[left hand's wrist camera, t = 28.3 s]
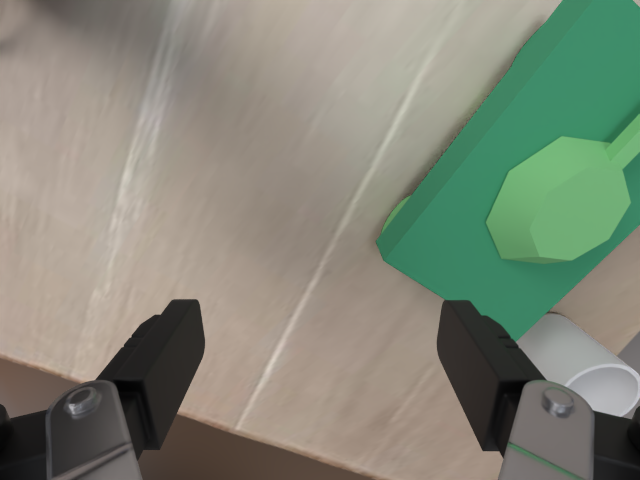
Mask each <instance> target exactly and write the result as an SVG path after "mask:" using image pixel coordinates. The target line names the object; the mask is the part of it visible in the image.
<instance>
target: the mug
mask: <svg viewBox="0 0 640 480" xmlns="http://www.w3.org/2000/svg"><path fill="white" fill-rule="evenodd" d="M516 343H517V344H518V346H519V348H521V349H522V351H523V352H524V353H525V354H526V355H527V357H528V358H529V359H530V360H531V361H532V363H533V364H534V365H535V366H536V368H537V369H538V370H539V371H540V372H541V374H542V375H543V376H544V377H545V378H546V380H547V381H551V382H555V383H558V384H561V385H563V386H565V387H567V388H569V389H571V390H573V391H574V392H576V393H577V394H579V395H580V396H581V397H582V398H583V399H585V400H586V401H587V403H588V404H589V405H590V406H591V408H592V410H594V411H598V412H602V413H606V414H610V415H615V416H619V417H622V416H623V415H625V414H626V413H628V412H629V411H630V410H631V409H632V408H633V407H634V406H635V405H636V403H637V401H638V400H639V398H640V376H639V374H638V373H637V372H636V371H634V370H633V369H632V368H631V367H630V366H628V365H627V364H626V363H625V362H623V361H622V360H621V359H619V358H618V357H617V356H616V355H614V354H613V353H612V352H610V351H609V350H608V349H606V348H605V347H604V346H603V345H601V344H600V343H599V342H597V341H596V340H595V339H594V338H592V337H591V336H590V335H588V334H587V333H586V332H584V331H583V330H582V329H581V328H579V327H578V326H577V325H575V324H574V323H573V322H572V321H570V320H569V319H568V318H566V317H565V316H563V315H560V314H556V313H546V314H545V315H544V316H543V317H542V318H541V319H540V320H539V321H537V322H536V323H535V324H534V325H533V326H532V327H531V328H530V329H529V330H528V331H527V332H526V333H525V334H524V335H523V336H522V337H521V338H520V339H518V340H517V341H516Z"/></svg>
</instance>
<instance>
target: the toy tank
mask: <svg viewBox="0 0 640 480" xmlns="http://www.w3.org/2000/svg"><path fill="white" fill-rule="evenodd" d="M639 225H640V7H639V6H638V5H637V4H636V3H635V2H634V1H633V0H563V1H562V2H561V3H560V4H559V6H558V7H557V8H556V10H555V11H554V12H553V13H552V15H551V16H550V17H549V19H548V20H547V21H546V22H545V23H544V24H543V25H542V26H541V27H540V28H539V29H538V30H537V31H536V32H535V33H534V34H533V35H532V36H531V38H530V39H529V40H528V41H527V42H526V44H525V45H524V46H523V47H522V49H521V50H520V52H519V53H518V54H517V56H516V58H515V60H514V61H513V63H512V66H511V68H510V69H509V70H508V71H507V73H506V74H505V75H504V77H503V78H502V79H501V80H500V82H499V83H498V84H497V86H496V87H495V88H494V89H493V91H492V92H491V93H490V95H489V96H488V97H487V98H486V100H485V101H484V102H483V104H482V105H481V106H480V107H479V109H478V110H477V111H476V113H475V114H474V115H473V117H472V118H471V119H470V120H469V122H468V123H467V124H466V126H465V127H464V128H463V129H462V131H461V132H460V133H459V135H458V136H457V137H456V138H455V140H454V141H453V142H452V144H451V145H450V146H449V147H448V149H447V150H446V151H445V153H444V154H443V155H442V156H441V158H440V159H439V160H438V162H437V163H436V164H435V165H434V167H433V168H432V169H431V171H430V172H429V173H428V174H427V176H426V177H425V178H424V180H423V181H422V182H421V184H420V185H419V186H418V187H417V189H416V190H415V191H414V193H413V194H412V195H411V196H408V197H407V198H405V199H403V200H402V201H401V202H400V203H399V204H398V205H397V206H396V207H395V209H394V210H393V211H392V212H391V214H390V215H389V217H388V218H387V220H386V222H385V224H384V226H383V229H382V231H381V235H380V236H379V238H378V239H377V240H376V243H377V246H378V248H379V251H380V253H381V255H382V258H383V260H384V261H385V262H386V263H388V264H389V265H391V266H393V267H394V268H396V269H397V270H399V271H401V272H402V273H404V274H405V275H407V276H409V277H410V278H412V279H413V280H415V281H417V282H418V283H420V284H421V285H423V286H424V287H426V288H428V289H429V290H431V291H432V292H434V293H436V294H437V295H439V296H440V297H442V298H444V299H445V300H469V301H471V302H472V304H473V305H474V306H475V308H476V309H477V310H478V312H479V313H480V314H481V315H487V316H489V317H490V318H492V319H493V320H495V321H496V322H498V323H499V324H501V325H502V326H503V328H504V329H505V330H506V331H507V332H508V334H509V335H510V336H511V339H513V340H514V341H515V342H516V341H517V340H518V339H520V338H521V337H522V336H523V335H524V334H525V333H526V332H527V331H528V330H529V329H530V328H531V327H532V326H533V325H534V324H535V323H536V322H537V321H539V320H540V319H541V318H542V317H543V316H544V315H545V314H546V313H547V312H548V311H549V310H550V309H551V308H552V307H553V306H554V305H555V304H556V303H558V302H559V301H560V300H561V299H562V298H563V297H564V296H565V295H566V294H567V293H568V292H569V291H570V290H571V289H572V288H573V287H574V286H575V285H577V284H578V283H579V282H580V281H581V280H582V279H583V278H584V277H585V276H586V275H587V274H588V273H589V272H590V271H591V270H592V269H593V268H594V267H596V266H597V265H598V264H599V263H600V262H601V261H602V260H603V259H604V258H605V257H606V256H607V255H608V254H609V253H610V252H611V251H612V250H613V249H615V248H616V247H617V246H618V245H619V244H620V243H621V242H622V241H623V240H624V239H625V238H626V237H627V236H628V235H629V234H630V233H631V232H632V231H634V230H635V229H636V228H637V227H638V226H639Z"/></svg>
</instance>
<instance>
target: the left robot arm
mask: <svg viewBox="0 0 640 480" xmlns="http://www.w3.org/2000/svg"><path fill="white" fill-rule="evenodd" d="M204 349H205V337H204V330H203V323H202V317H201V310H200V304H199V302H198V300H196V299H174V300H172V301H171V302H170V303H169V304H168V306H167V307H166V308H165V310H164V311H163V312H162V314H161V315H154V316H152V317H151V318H149V319H148V320H146V321H145V322H143V323H142V324H141V325H140V326H139V327H138V328H137V330H136V331H135V332H134V333H133V334H132V337H131V338H129V339H128V341H127V342H126V343H125V344H124V347H122V348H121V349H120V350H119V352H118V353H117V354H116V355H115V356H114V358H113V359H112V360H111V361H110V363H109V364H108V365H107V366H106V367H105V369H104V370H103V371H102V372H101V374H100V375H99V376H98V377H97V378H96V380H94V381H89V382H85V383H82V384H79V385H77V386H75V387H73V388H71V389H69V390H67V391H66V392H64V393H63V394H61V395H60V396H59V397H58V398H57V399H55V400H54V402H53V403H52V404H51V405H50V406H49V408H48V410H44V411H40V412H36V413H31V414H27V415H23V416H19V417H14V418H9V415H8V413H7V411H6V409H5V407H4V406H3V405H1V404H0V480H142V477H141V473H140V470H139V466H138V462H137V461H138V459H139V457H140V455H141V453H142V451H143V450H160V448H161V446H162V444H163V442H164V440H165V437H166V435H167V433H168V431H169V429H170V427H171V425H172V422H173V420H174V418H175V416H176V414H177V412H178V410H179V407H180V405H181V403H182V401H183V399H184V397H185V394H186V392H187V390H188V388H189V386H190V384H191V382H192V379H193V377H194V375H195V373H196V371H197V369H198V366H199V364H200V362H201V360H202V358H203V354H204ZM437 351H438V356H439V359H440V361H441V363H442V365H443V368H444V370H445V372H446V374H447V376H448V378H449V380H450V382H451V385H452V387H453V389H454V391H455V393H456V395H457V397H458V399H459V402H460V404H461V406H462V408H463V410H464V412H465V414H466V416H467V419H468V421H469V423H470V425H471V427H472V429H473V431H474V433H475V436H476V438H477V440H478V442H479V444H480V446H481V448H482V450H483V451H500V453H501V455H502V457H503V462H502V466H501V470H500V473H499V477H498V480H640V406H639V407H638V408H637V409H636V411H635V413H634V415H633V418H632V419H627V418H623V417H619V416H615V415H610V414H606V413H602V412H598V411H594V410H592V408H591V406H590V405H589V404H588V403H587V401H586V400H585V399H583V398H582V397H581V396H580V395H579V394H577V393H576V392H574V391H573V390H571V389H569V388H567V387H565V386H563V385H561V384H558V383H555V382H551V381H547V380H546V378H545V377H544V376H543V375H542V374H541V372H540V371H539V370H538V369H537V368H536V366H535V365H534V364H533V363H532V361H531V360H530V359H529V358H528V357H527V355H526V354H525V353H524V352H523V351H522V349H521V348H519V346H518V344H517V343H516V342H515V341H514V340H513V339H511V336H510V335H509V334H508V332H507V331H506V330H505V329H504V328H503V326H502V325H501V324H499V323H498V322H496V321H495V320H493V319H492V318H490V317H489V316H487V315H481V314H480V313H479V312H478V310H477V309H476V308H475V306H474V305H473V304H472V302H471V301H469V300H445V301H444V302H443V304H442V309H441V316H440V323H439V329H438V336H437Z"/></svg>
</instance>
